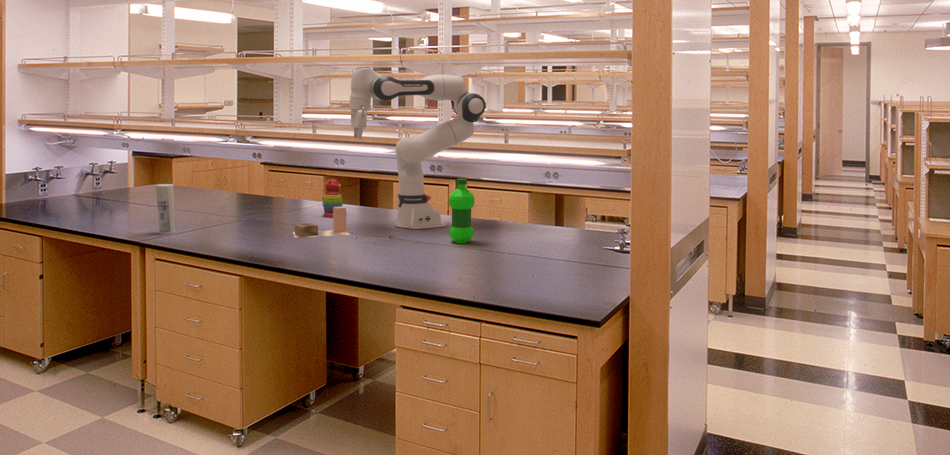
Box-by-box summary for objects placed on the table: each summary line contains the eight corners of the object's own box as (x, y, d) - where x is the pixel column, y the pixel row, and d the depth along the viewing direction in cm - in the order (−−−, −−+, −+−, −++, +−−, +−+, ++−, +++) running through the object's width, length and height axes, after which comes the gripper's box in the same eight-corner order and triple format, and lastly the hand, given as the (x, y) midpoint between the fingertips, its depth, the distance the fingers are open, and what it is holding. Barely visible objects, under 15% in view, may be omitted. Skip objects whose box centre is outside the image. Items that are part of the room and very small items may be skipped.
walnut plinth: (311, 232, 290) (310, 222, 289) (318, 235, 284) (317, 225, 284) (294, 234, 286) (294, 224, 285) (301, 236, 280) (301, 227, 279)
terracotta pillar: (342, 229, 296) (341, 206, 294) (346, 231, 293) (346, 207, 291) (333, 230, 293) (332, 207, 292) (337, 232, 290) (337, 208, 288)
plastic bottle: (452, 238, 286) (453, 177, 281) (477, 240, 283) (478, 178, 278) (444, 243, 277) (444, 180, 272) (470, 245, 274) (470, 181, 269)
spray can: (156, 233, 290) (152, 185, 286) (168, 230, 296) (164, 183, 292) (168, 234, 288) (164, 186, 284) (180, 232, 294) (176, 184, 290)
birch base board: (346, 232, 297) (346, 229, 297) (350, 237, 286) (350, 234, 286) (292, 234, 290) (292, 232, 290) (294, 240, 279) (294, 237, 279)
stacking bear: (339, 218, 331) (338, 180, 328) (319, 217, 333) (318, 179, 330) (347, 214, 341) (347, 178, 338) (328, 213, 343) (327, 177, 340)
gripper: (371, 106, 289) (368, 140, 291) (363, 106, 308) (361, 138, 310) (355, 105, 287) (353, 139, 289) (349, 105, 306) (347, 136, 308)
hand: (357, 138), depth 299 cm, fingers open, 8 cm apart
